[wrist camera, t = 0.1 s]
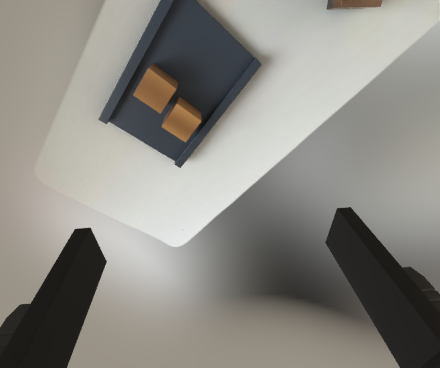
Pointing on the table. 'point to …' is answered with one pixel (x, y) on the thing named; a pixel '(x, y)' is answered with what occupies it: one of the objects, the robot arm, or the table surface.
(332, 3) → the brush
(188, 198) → the table surface
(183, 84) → the tray
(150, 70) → the cork cube
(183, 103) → the cork cube
